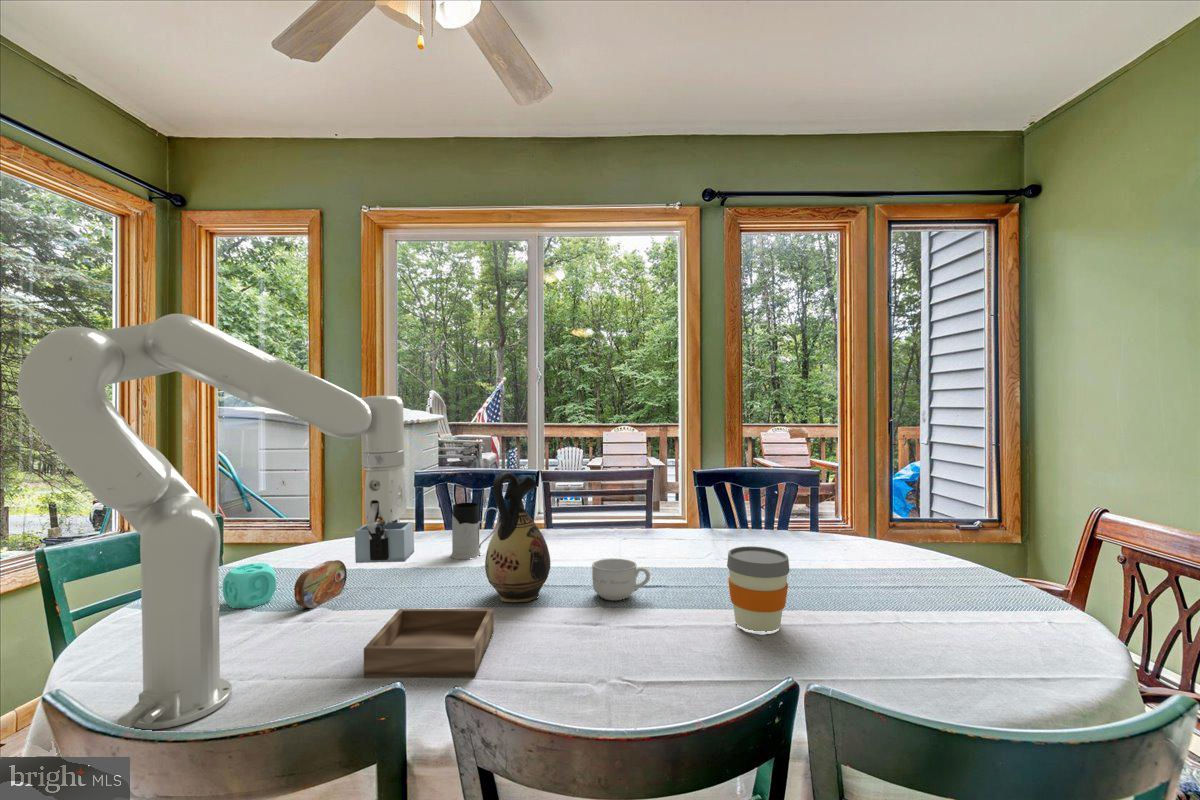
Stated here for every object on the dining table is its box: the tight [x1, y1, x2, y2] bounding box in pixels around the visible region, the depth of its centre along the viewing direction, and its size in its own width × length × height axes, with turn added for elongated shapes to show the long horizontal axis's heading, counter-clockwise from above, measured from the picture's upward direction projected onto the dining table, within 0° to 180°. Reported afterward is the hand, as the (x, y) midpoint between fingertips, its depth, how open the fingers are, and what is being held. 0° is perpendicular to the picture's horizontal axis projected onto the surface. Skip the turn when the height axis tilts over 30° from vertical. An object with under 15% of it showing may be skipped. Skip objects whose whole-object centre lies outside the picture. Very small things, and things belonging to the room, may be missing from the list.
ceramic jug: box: [484, 471, 551, 603], centre depth 131 cm, size 17×15×30 cm
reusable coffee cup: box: [726, 546, 791, 632], centre depth 115 cm, size 13×13×15 cm
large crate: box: [363, 608, 495, 678], centre depth 103 cm, size 17×19×5 cm
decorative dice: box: [222, 562, 277, 609], centre depth 128 cm, size 8×8×8 cm
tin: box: [293, 559, 348, 609], centre depth 129 cm, size 15×3×8 cm, turn 168°
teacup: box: [591, 558, 651, 601], centre depth 131 cm, size 14×11×8 cm
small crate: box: [354, 521, 415, 564], centre depth 105 cm, size 6×9×6 cm, turn 92°
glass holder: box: [450, 502, 500, 560], centre depth 165 cm, size 9×14×15 cm, turn 107°
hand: (385, 553), depth 105 cm, fingers closed on small crate, 6 cm apart
